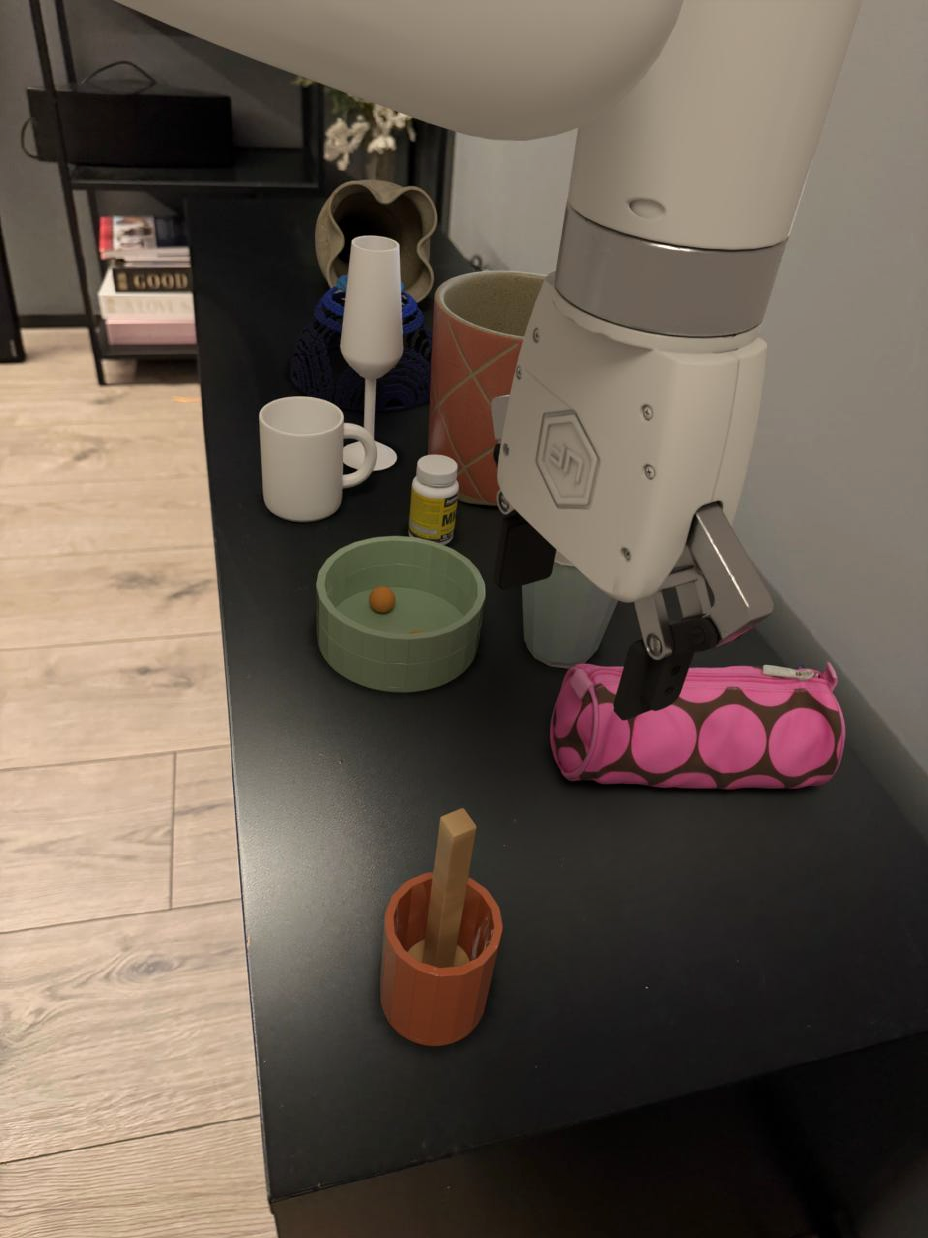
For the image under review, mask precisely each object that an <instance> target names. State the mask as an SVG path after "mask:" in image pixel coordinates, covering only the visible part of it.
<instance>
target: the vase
mask: <svg viewBox="0 0 928 1238" xmlns="http://www.w3.org/2000/svg"><path fill="white" fill-rule="evenodd" d="M437 226H438V213H437V208H436V206H435V203H434V201H433V200H432V198H431V196H430V195H429V194H428V193H427V192H426V191H425V190H423V189H422V188H420V187H418V186H414V185H408V186H402V185H400V184H397V183H394V182H391V181H387V180H381V179H360V180H349V181H346V182H344V183H342V184H340V185H338V186H337V187H336V188H335V189H334V190H333V191H332V192H331V194H330V196H329V197H328V198H327V200H326V201H325V203H324V204H323V206H322V207H321V210H320V212H319V214H318V216H317V220H316V224H315V230H314V231H315V232H314V245H315V246H314V247H315V254H316V259H317V263H318V266H319V269H320V272H321V274H322V275H323V277H324V279H325V281H326V282H327V284H328V286H329V289H332V287H333V286H336V285H337V278H340V277H341V276H344V275H346V274H348V271H349V262H350V252H351V243H352V240H353V239H354V238H357V237H361V236H380V237H386V238H389V239H392V240H395V241H396V242H397V243H398V244H399V253H400V279H401V282H402V283H403V284H404V290H403V291H404V292H405V293H408V294H409V295H410V296H411V297H412V298H413V299H414V300H415V301H416V302H417V304H419V303H420V302H422V301H423V300H424V299H426V298H427V296H428V295H429V294H430V293H431V291H432V288H433V286H434V283H435V273H434V270H433V267H432V266H431V264H430V256H431V237H432V235H433V234H434V233H435V231H436V228H437ZM347 280H348V279H347ZM347 280H346V282H347ZM338 292H343V291H342V290H338V291H337V292H334V293H338ZM402 296H403V297H404V298H405V299H407V298H406V297H405V296H404V295H401V297H402ZM341 301H344V302H345V298H342V299H341ZM401 305H402V307H405V305H404V304H403V302H402V303H401Z"/></svg>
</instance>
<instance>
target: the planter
mask: <svg viewBox="0 0 928 1238" xmlns="http://www.w3.org/2000/svg"><path fill="white" fill-rule="evenodd" d="M547 275H548V274H547ZM547 275H546V274H543V273H542V274H541V273H536V272H529V271H528V272H527V271H517V270H483V271H474V272H469V273H464V274H461V275H458V276H454V277H451V278H449V279H447V280H446V281H444V282H442V283H441V284H440V285H439V286H438V287H437V289H436V290H435V292H434V298H433V301H434V302H433V318H432V322H433V323H432V336H433V337H432V357H431V385H430V400H429V413H428V414H429V415H428V439H427V455H443V456H447V457H449V458H451V459H453V460H454V461H455V462H456V463H457V478H456V480H457V482H458V485H459V492H458V500H457V501H459V502H462V503H464V504H469V505H478V506H479V505H480V506H493V507H498V505H497V493H498V491H499V490H500V487H499V485H498V480H497V471H498V470H497V467H496V463H495V461H494V459H493V452H494V447H495V445H496V444H498V440H495V434H494V427H493V420H492V412H491V401H492V399H493V398H495V397H500V396H505V395H510V392H511V388H512V383H513V378H514V374H515V370H516V366H517V361H518V357H519V353H520V350H521V346H522V343H523V339H524V336H525V332H526V328H527V326H528V323H529V320H530V317H531V314H532V311H533V308H534V305H535V302H536V299H537V297H538V294H539V292H540V290H541V287H542V285H543V282H544V280H545V277H546V276H547Z"/></svg>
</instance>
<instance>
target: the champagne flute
mask: <svg viewBox="0 0 928 1238" xmlns="http://www.w3.org/2000/svg"><path fill="white" fill-rule="evenodd" d="M344 303H345V308H344V317H342V322H343V326H342V335H341V338H340V347H339V349H340V353H341V355H342V356H343V359H344V360H345V362H346V363H347V364H348V366H351V367H352V368H353V369H354V370H355V372H357V373H358V374H359V375H360V376H362V377H364V378H363V379H364V382H365V385H364V392H365V411H363V412H364V413H363V414H364V415H363V417H364V418H363V428H364V429H366V430H367V431H368V432H369V433H370V434H371V435H372V437H373V438H374V439H375V424H376V423H375V418H376V416H375V415H376V411H375V397H376V392H377V388H376V383H377V379H378V380H379V379H381V378H382V377H384V376H385V375H386V374H387V372H389V371H390V370H391V369H392V368H394V367H396V366H397V365H396V364H397V363H398V361H399V360H400V358H401V357H402V356H403V355H404V353H403V346H404V338H403V330H402V324H403V318H402V307H403V305H401V279H400V253H399V244H398V243H397V242H396V241H395V240H392V239H389V238H386V237H380V236H361V237H357V238H354V239H353V240H352V243H351V252H350V262H349V271H348V280H347V289H346V298H345V301H344ZM375 443H376V447H377V461H376V465H375V467H374V469H373V471H372V472H375V471H382V470H385V469H388V468H390V467H392V466H393V465H395V463H396V462H397V459H398V456H397V453H396V452H395V450H393V449H392V447H389V446H387V445H386V444H383V443H381V442H378V441H377V440H375ZM364 457H365V450H364V447H363V445H362V443H361V442H360V441H358V440H357V441H355V442H352V443H349V444H346V445H345V446H343V464H344V465H346V466H348V467H350V468H353V469H356V470H358V469H359V468H360V467H361V466H362V464H363V462H364Z"/></svg>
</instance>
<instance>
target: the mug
mask: <svg viewBox="0 0 928 1238" xmlns="http://www.w3.org/2000/svg"><path fill="white" fill-rule="evenodd" d="M258 417H259V418H258V419H259V420H258V421H259V441H260V460H261V461H260V463H261V483H262V496H263V502H264V505H265V507H266V508H267V510H269V512H270V513H272V514H273V515H274V516H276V517H278V518H280V519H282V520H285V521H289V522H292V523H314V522H319V521H322V520H325V519H327V518H329V517H331V516H332V515H334V514H335V513H336V512H337V511H338V510H339V508H340V507H341V505H342V501H343V490H344V489H349V488H353V487H356V486H359V485H360V484H362V483H363V482H365V481H366V480H367V479H368V478H369V477H370V476H371V475H372V474H373V472H374V471H373V469H374V467H375V465H376V461H377V447H376V443H375V441H376V440H375V437H374V438H373V437H372V435H371V434H370V433H369V432H368V431H367V430H366V429H364V426H361V425H358V424H355V423H351V422H345V417H344V412H343V411H342V409H340V407H339V408H338V407H337V406H335V405H334V404H332V403H330V402H328V401H327V400H326V401H325V400H322V399H318V398H313V397H309V396H287V397H282V398H278V399H274V400H272V401H269V402H268V403H267V404H265V405H263V406H262V408H261V409H260V411H259V413H258ZM345 439H352V440H356V441H357V442H358V441H360V442H361V443H362V445H363V447H364V450H365V457H364V462H363V464H362V466H361V467H360V468H359V469H356V471H354V472H352V473H348V474H344V463H343V448H344V440H345Z"/></svg>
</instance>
